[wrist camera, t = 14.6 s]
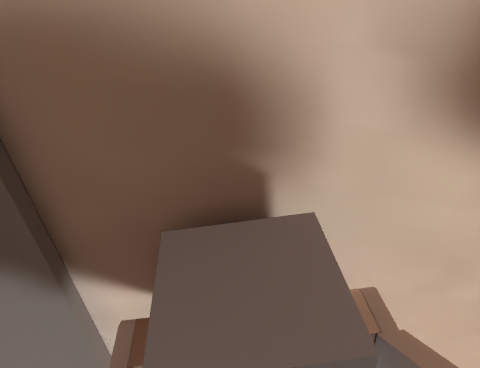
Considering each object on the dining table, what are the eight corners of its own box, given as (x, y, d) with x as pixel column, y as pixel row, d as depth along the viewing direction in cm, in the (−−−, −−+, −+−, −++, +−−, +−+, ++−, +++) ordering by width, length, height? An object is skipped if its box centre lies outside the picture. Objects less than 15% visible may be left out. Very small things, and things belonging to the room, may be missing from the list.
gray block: (310, 311, 14) (357, 457, 10) (186, 328, 14) (181, 484, 10) (314, 212, 12) (379, 354, 7) (161, 232, 11) (139, 388, 7)
